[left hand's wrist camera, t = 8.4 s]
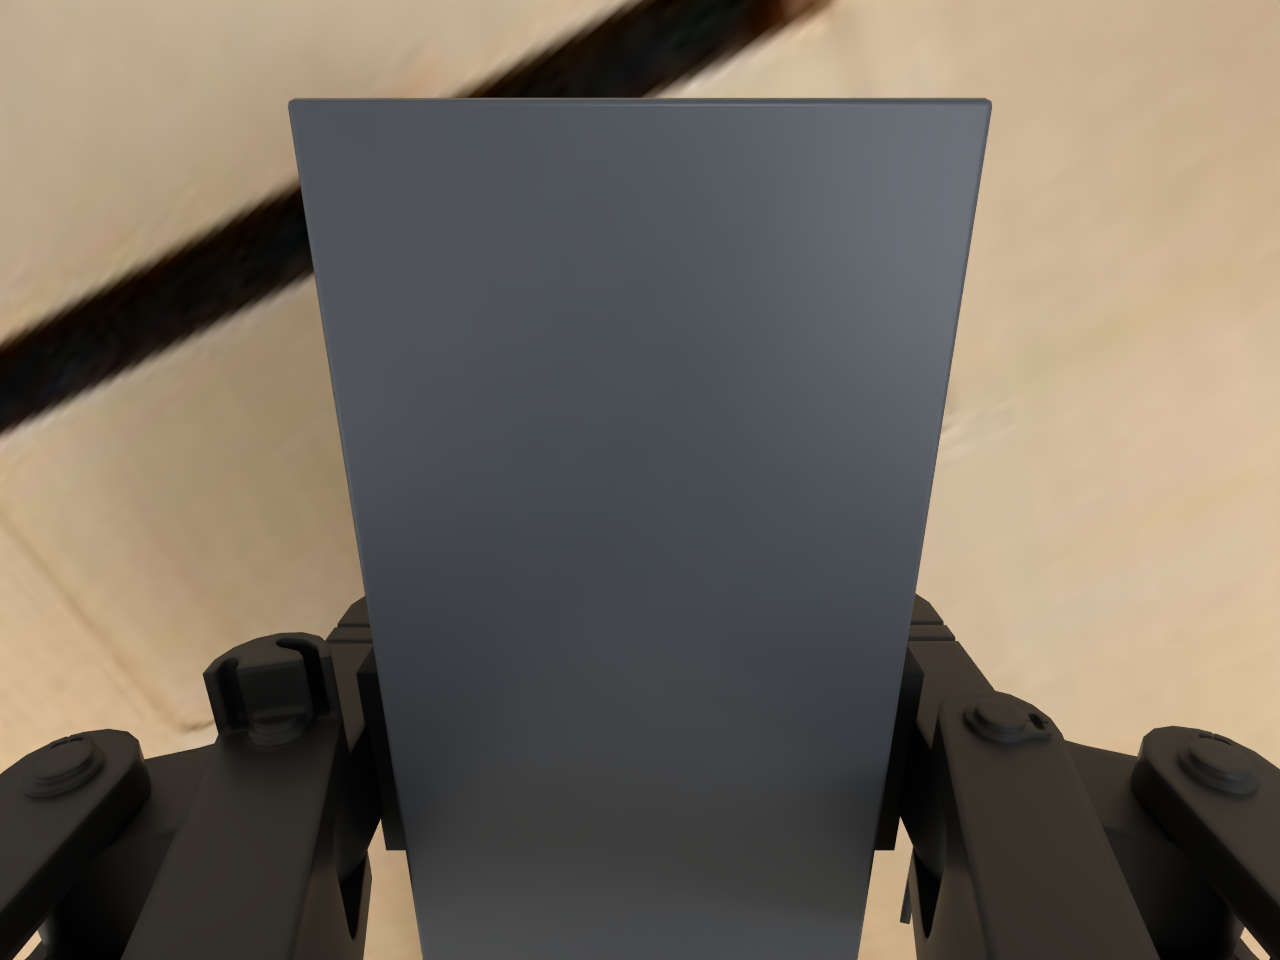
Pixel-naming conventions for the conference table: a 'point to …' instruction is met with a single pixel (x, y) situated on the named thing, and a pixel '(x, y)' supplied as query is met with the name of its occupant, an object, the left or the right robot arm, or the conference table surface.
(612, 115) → the post
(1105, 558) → the conference table surface
